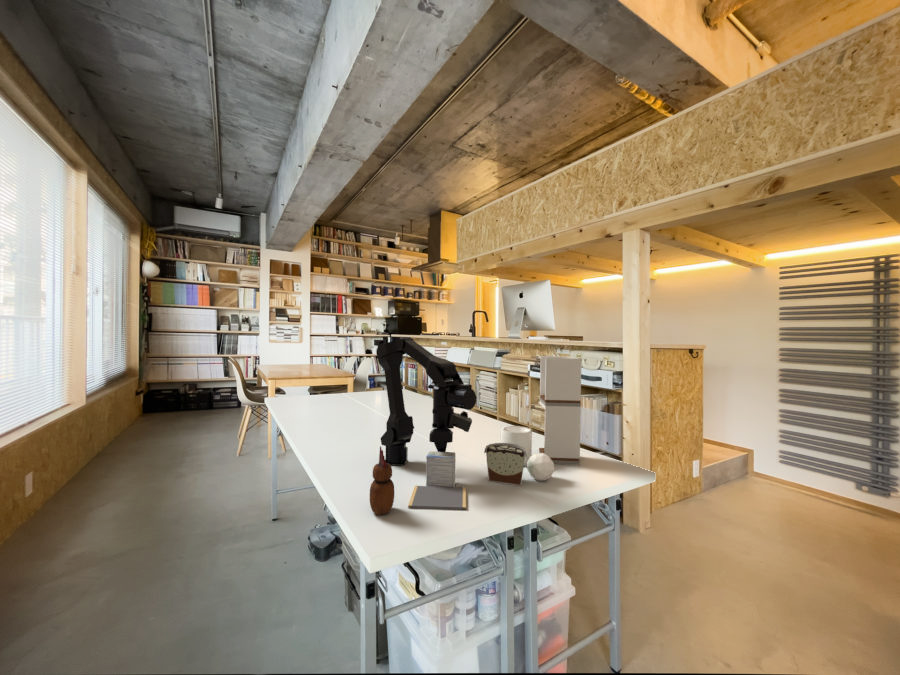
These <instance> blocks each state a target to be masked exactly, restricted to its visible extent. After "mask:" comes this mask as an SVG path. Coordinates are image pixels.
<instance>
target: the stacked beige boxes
mask: <svg viewBox="0 0 900 675" xmlns="http://www.w3.org/2000/svg"><path fill="white" fill-rule="evenodd" d="M539 358H540V360H539V362H540V363H539V365H540V367H539V370H540V371H539V372H540V373H539V377H540V378H539V405H540V406H541V408H543V409H544V438H543V439H544V441H543V442H544V443H543V445H544V447H539V448H538V453H544V454H546V455H547V456H549V457H550V459H551V460H552V461H553V463H554V465H573V466H574V465H575V466H580V465H581V464H580V463H581V462H580V461H581V460H580V459H581V411H582V410H581V408H582V407H581V404H582V403H581V402H582V401H581V400H582V399H581V398H582V397H581V396H582V395H581V394H582V358H579V357H575V356H552V355H551V356H550V355H549V356H547V355H546V356H545V355H543V356H541V355H540V357H539Z"/></svg>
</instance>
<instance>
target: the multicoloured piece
mask: <svg viewBox="0 0 900 675" xmlns="http://www.w3.org/2000/svg"><path fill="white" fill-rule="evenodd" d="M483 453H484V454H485V456H486V465H487V468H486V469H487V477H488V482H491V483H498V484H507V485H513V486H522V483H523V481H522V480H523V475H524V474H523V472H524V458H525V455H526V458H527V454H526V451H525V449H524V448H523V447H522V446H519V445H516V444H510V443H501V442H495V443H490V444H488V445H486V446H485V447H484V452H483Z"/></svg>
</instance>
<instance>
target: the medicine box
mask: <svg viewBox="0 0 900 675" xmlns="http://www.w3.org/2000/svg"><path fill="white" fill-rule="evenodd" d="M425 457H426V458H425V459H426V463H425V464H426V465H425V466H426V469H425V470H426V474H425V475H426V477H425V479H426V481H425V482H426V483H425V486H439V487H455V483H456V452H455V451H452V452H451V451H446V452H438V451H428V452H427V454H426V456H425Z"/></svg>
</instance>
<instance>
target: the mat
mask: <svg viewBox="0 0 900 675" xmlns="http://www.w3.org/2000/svg"><path fill="white" fill-rule="evenodd" d="M408 502H409V503H408V506H407V508H408V509H423V510H424V509H427V510H428V509H429V510H453V511H455V510H458V511H467V488H466V486H454V487H439V486H426V485H414V487H413V490H412V492H411V496H410V498H409V501H408Z"/></svg>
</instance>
